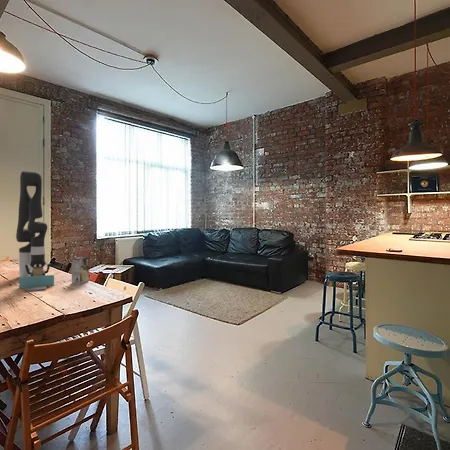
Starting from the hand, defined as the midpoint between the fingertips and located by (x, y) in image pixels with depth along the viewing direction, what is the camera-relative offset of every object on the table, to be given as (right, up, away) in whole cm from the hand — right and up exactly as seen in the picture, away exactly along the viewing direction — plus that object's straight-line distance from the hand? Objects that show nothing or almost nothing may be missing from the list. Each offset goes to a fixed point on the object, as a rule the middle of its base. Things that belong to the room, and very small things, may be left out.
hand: (38, 279), depth 191 cm
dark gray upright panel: (+7, -3, -13) cm, 15 cm away
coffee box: (+23, -3, +7) cm, 25 cm away
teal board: (+4, -3, -7) cm, 8 cm away
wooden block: (0, -2, 0) cm, 2 cm away
